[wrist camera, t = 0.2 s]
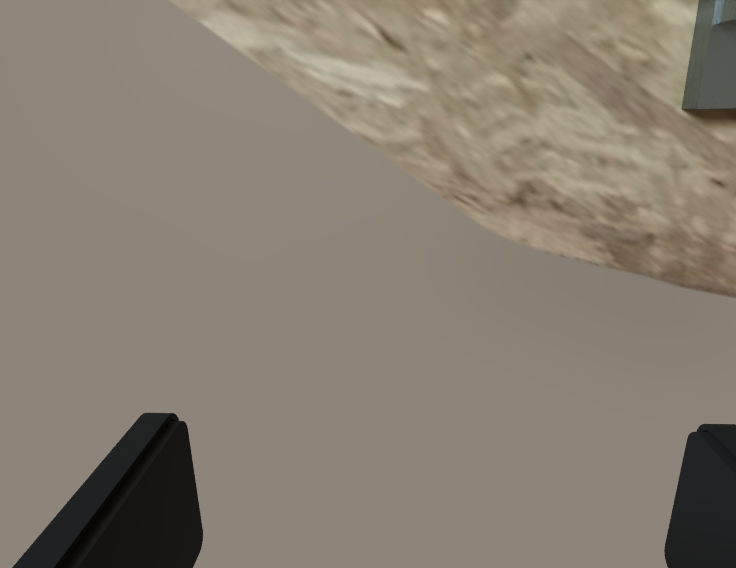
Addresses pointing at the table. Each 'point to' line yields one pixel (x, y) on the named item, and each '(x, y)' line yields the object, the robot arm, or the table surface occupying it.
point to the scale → (712, 57)
